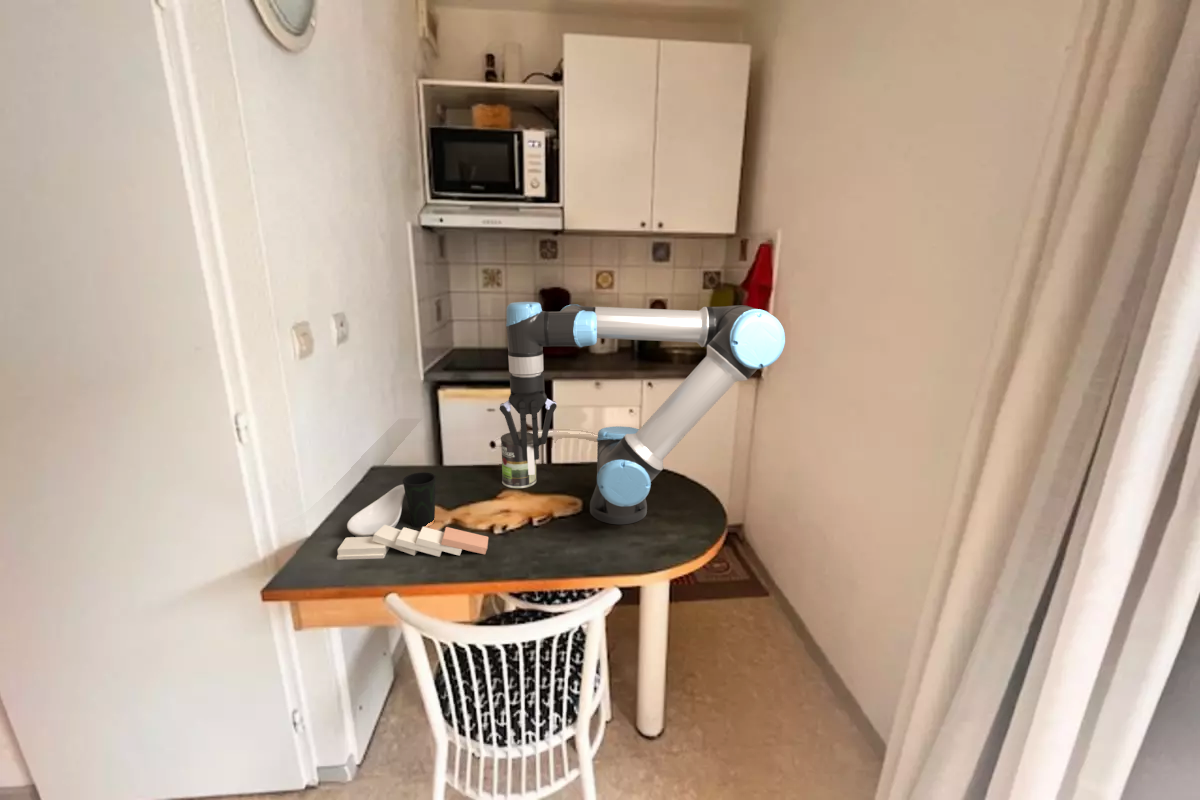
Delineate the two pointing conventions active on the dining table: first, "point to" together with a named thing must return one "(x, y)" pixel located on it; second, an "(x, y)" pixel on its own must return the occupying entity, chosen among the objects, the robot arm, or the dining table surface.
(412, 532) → the tile
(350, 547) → the tile
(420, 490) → the cup
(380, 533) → the tile
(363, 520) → the spoon rest
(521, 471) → the coffee can
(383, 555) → the cream flat rectangular block
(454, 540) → the tile
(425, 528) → the tile
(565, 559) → the dining table surface
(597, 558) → the dining table surface
